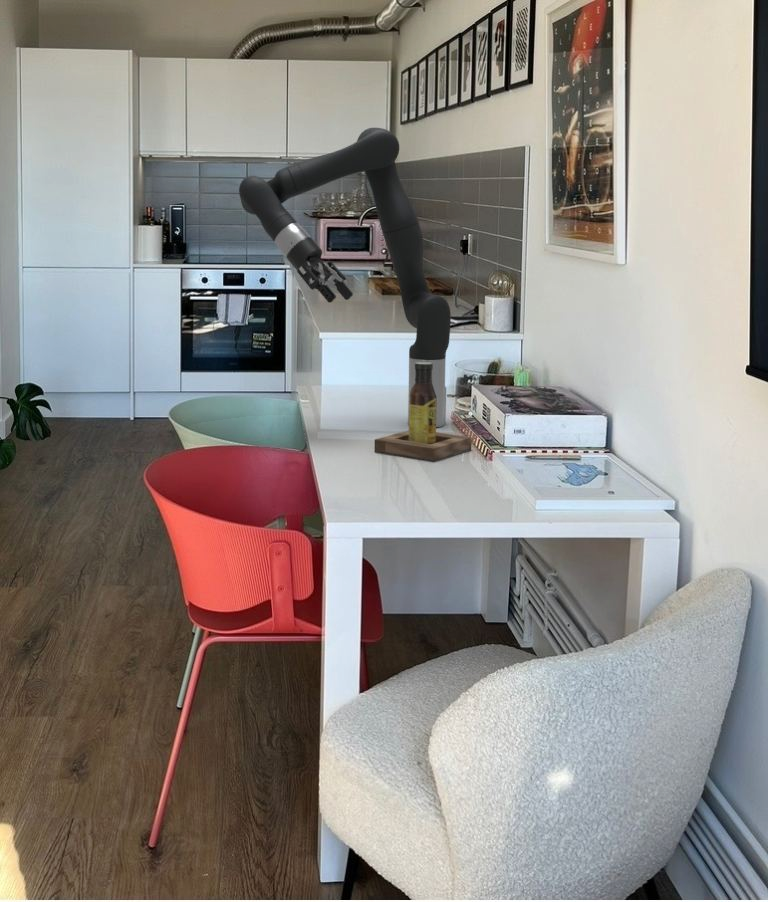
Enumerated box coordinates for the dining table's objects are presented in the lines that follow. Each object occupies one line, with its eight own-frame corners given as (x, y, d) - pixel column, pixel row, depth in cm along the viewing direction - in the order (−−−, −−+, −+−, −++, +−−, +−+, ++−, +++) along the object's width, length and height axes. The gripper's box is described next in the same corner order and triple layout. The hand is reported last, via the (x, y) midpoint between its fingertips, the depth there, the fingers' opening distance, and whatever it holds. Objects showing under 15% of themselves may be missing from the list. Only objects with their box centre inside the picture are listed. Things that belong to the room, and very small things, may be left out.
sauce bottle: (433, 452, 273) (435, 365, 269) (406, 451, 274) (407, 364, 270) (437, 446, 279) (439, 361, 275) (411, 445, 280) (412, 360, 276)
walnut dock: (413, 441, 288) (413, 428, 287) (471, 450, 279) (471, 437, 278) (374, 452, 275) (374, 439, 274) (433, 461, 266) (433, 448, 265)
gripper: (293, 236, 274) (337, 289, 272) (322, 235, 287) (365, 285, 284) (273, 259, 277) (317, 312, 275) (303, 256, 290) (345, 307, 288)
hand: (341, 298), depth 280 cm, fingers open, 8 cm apart
